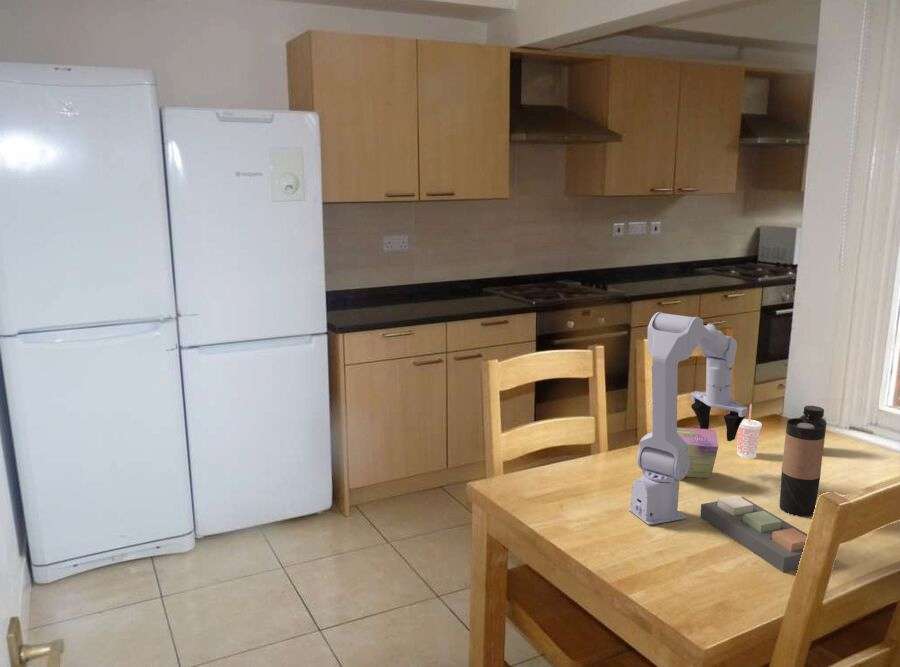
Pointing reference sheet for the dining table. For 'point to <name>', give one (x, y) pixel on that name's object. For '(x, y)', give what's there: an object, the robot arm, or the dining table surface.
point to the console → (753, 535)
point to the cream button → (735, 505)
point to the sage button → (762, 521)
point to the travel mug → (801, 466)
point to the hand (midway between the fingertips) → (717, 434)
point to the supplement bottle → (814, 415)
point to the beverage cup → (748, 437)
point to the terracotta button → (789, 539)
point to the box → (700, 450)
